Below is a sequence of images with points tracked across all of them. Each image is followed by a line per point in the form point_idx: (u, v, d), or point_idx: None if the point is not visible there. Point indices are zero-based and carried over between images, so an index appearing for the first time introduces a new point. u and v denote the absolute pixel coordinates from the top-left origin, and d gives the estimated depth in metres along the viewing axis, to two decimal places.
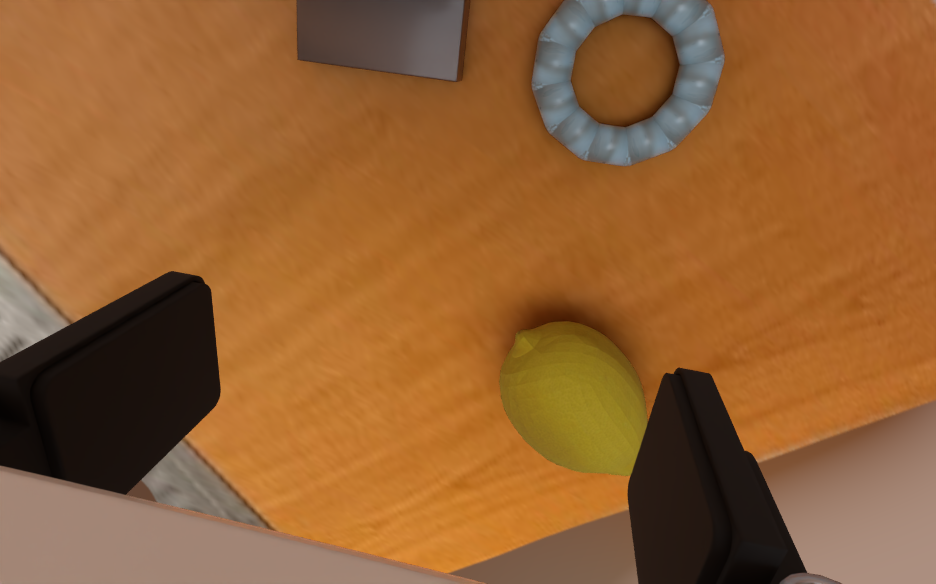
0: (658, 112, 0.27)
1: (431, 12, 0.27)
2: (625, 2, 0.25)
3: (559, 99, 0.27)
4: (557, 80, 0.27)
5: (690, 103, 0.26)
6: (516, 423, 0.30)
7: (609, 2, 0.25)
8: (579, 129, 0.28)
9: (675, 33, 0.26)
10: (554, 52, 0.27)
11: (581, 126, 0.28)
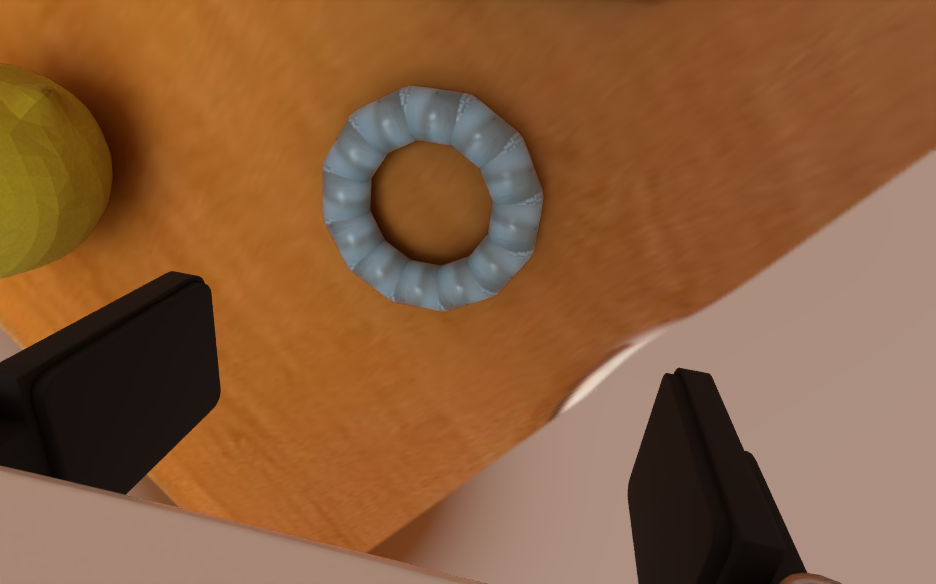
0: (386, 249, 0.23)
1: None
2: (500, 206, 0.21)
3: (388, 129, 0.20)
4: (411, 125, 0.20)
5: (395, 285, 0.23)
6: None
7: (501, 187, 0.20)
8: (354, 158, 0.21)
9: (469, 261, 0.22)
10: (444, 120, 0.20)
11: (358, 161, 0.21)
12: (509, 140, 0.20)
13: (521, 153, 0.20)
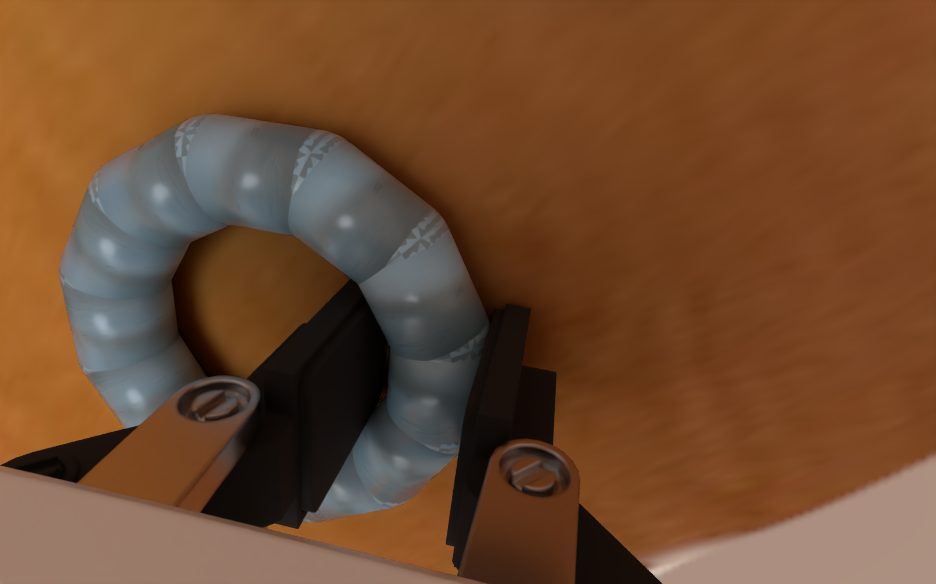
0: None
1: None
2: (401, 360, 0.10)
3: (157, 208, 0.10)
4: (202, 200, 0.09)
5: None
6: None
7: (398, 328, 0.10)
8: (103, 262, 0.10)
9: (354, 445, 0.12)
10: (269, 191, 0.09)
11: (114, 265, 0.10)
12: (410, 234, 0.09)
13: (438, 259, 0.09)
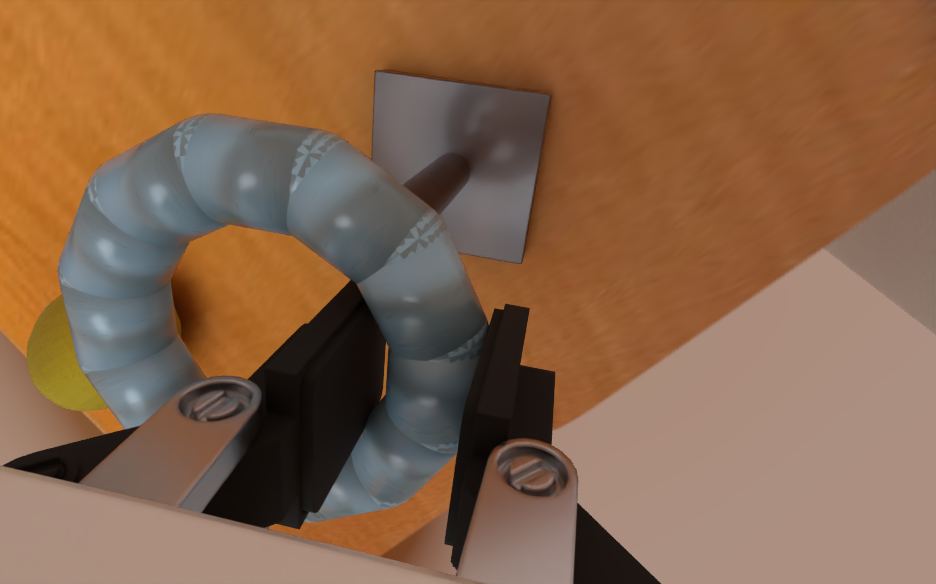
0: None
1: None
2: (399, 360, 0.10)
3: (155, 207, 0.10)
4: (201, 200, 0.09)
5: None
6: (50, 318, 0.31)
7: (396, 328, 0.10)
8: (102, 261, 0.10)
9: None
10: (268, 190, 0.09)
11: (113, 265, 0.10)
12: (408, 234, 0.09)
13: (436, 259, 0.09)
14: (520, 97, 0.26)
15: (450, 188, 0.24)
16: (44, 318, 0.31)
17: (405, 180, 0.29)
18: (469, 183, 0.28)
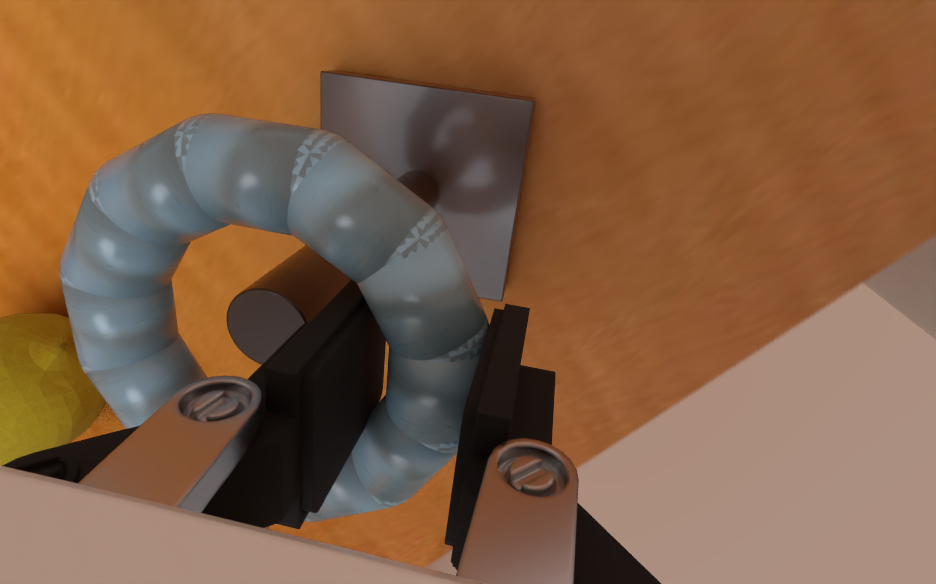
0: None
1: None
2: (400, 359, 0.10)
3: (157, 207, 0.10)
4: (202, 200, 0.09)
5: None
6: None
7: (396, 328, 0.10)
8: (103, 261, 0.10)
9: None
10: (268, 190, 0.09)
11: (114, 264, 0.10)
12: (408, 234, 0.09)
13: (437, 259, 0.09)
14: (497, 104, 0.22)
15: None
16: None
17: None
18: (438, 206, 0.24)
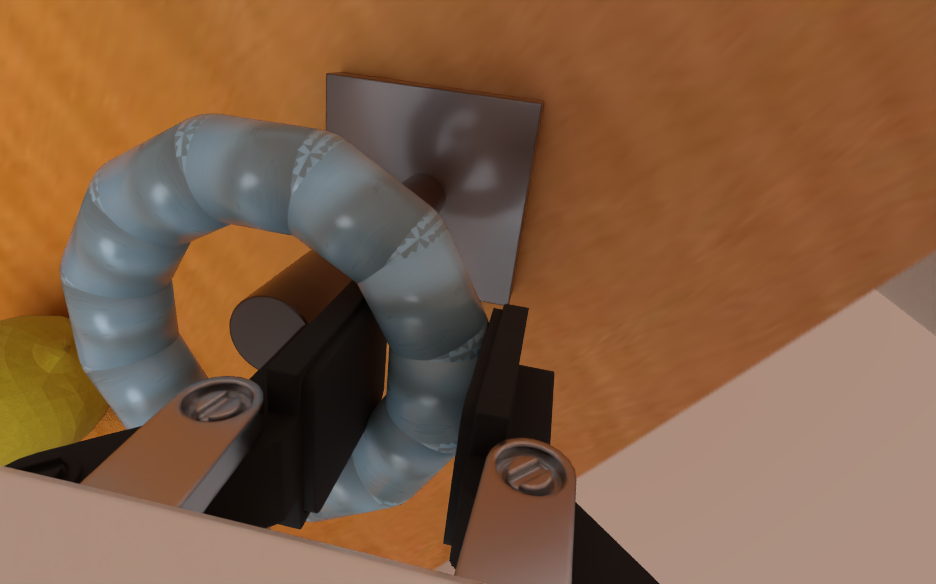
0: None
1: None
2: (400, 359, 0.10)
3: (157, 207, 0.10)
4: (202, 200, 0.09)
5: None
6: None
7: (397, 328, 0.10)
8: (103, 261, 0.10)
9: None
10: (269, 190, 0.09)
11: (114, 264, 0.10)
12: (409, 234, 0.09)
13: (437, 259, 0.09)
14: (504, 106, 0.21)
15: None
16: None
17: None
18: (444, 210, 0.23)
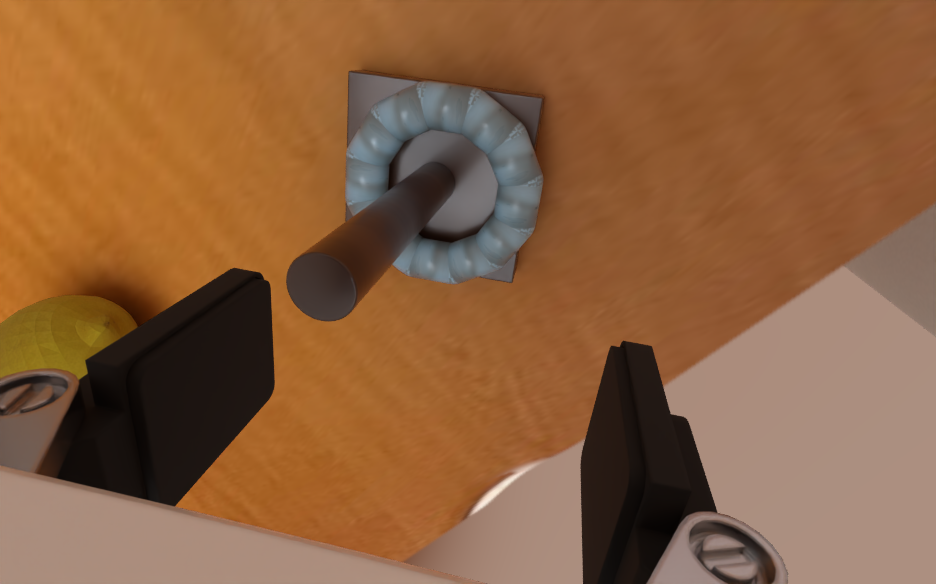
0: None
1: None
2: (505, 187, 0.23)
3: (406, 119, 0.23)
4: (427, 116, 0.23)
5: (410, 259, 0.25)
6: None
7: (506, 171, 0.23)
8: (375, 146, 0.24)
9: (477, 238, 0.25)
10: (456, 111, 0.22)
11: (379, 147, 0.24)
12: (513, 129, 0.23)
13: (524, 140, 0.23)
14: (509, 101, 0.24)
15: (430, 204, 0.21)
16: None
17: None
18: (454, 195, 0.26)
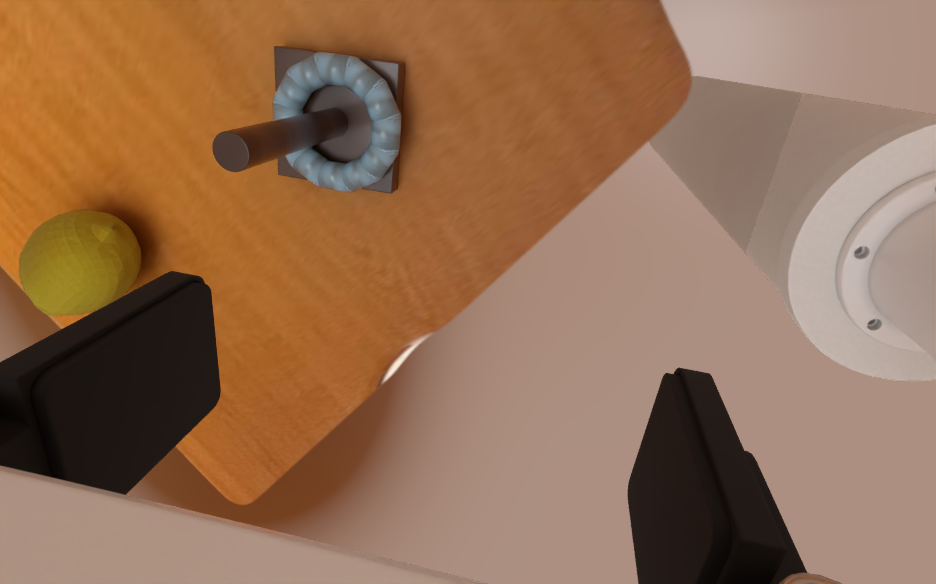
0: (312, 153, 0.38)
1: None
2: (374, 121, 0.36)
3: (308, 76, 0.35)
4: (321, 74, 0.35)
5: (317, 173, 0.38)
6: (36, 237, 0.41)
7: (373, 110, 0.36)
8: (290, 94, 0.36)
9: (361, 158, 0.38)
10: (339, 71, 0.35)
11: (292, 96, 0.36)
12: (376, 82, 0.35)
13: (384, 90, 0.35)
14: (378, 65, 0.36)
15: (318, 127, 0.34)
16: (32, 237, 0.41)
17: None
18: (348, 131, 0.38)
